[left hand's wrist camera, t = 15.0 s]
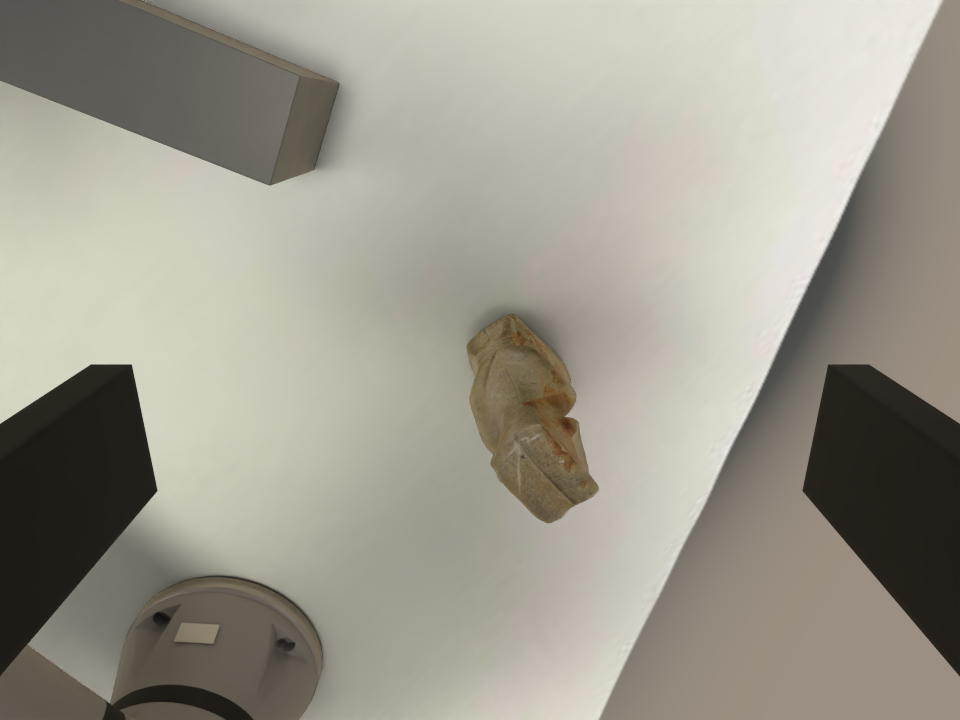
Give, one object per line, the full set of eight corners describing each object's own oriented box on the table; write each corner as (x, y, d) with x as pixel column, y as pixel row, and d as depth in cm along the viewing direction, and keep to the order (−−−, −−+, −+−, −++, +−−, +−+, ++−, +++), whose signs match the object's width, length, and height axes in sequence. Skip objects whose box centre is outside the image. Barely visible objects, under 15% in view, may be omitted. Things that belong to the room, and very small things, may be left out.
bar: (339, 83, 38) (300, 75, 30) (314, 170, 40) (270, 186, 32) (-45, -78, 35) (-207, -136, 27) (-54, 24, 37) (-209, -1, 29)
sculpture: (511, 417, 46) (524, 553, 32) (450, 337, 44) (437, 444, 30) (582, 373, 45) (628, 494, 31) (524, 289, 42) (545, 377, 28)
